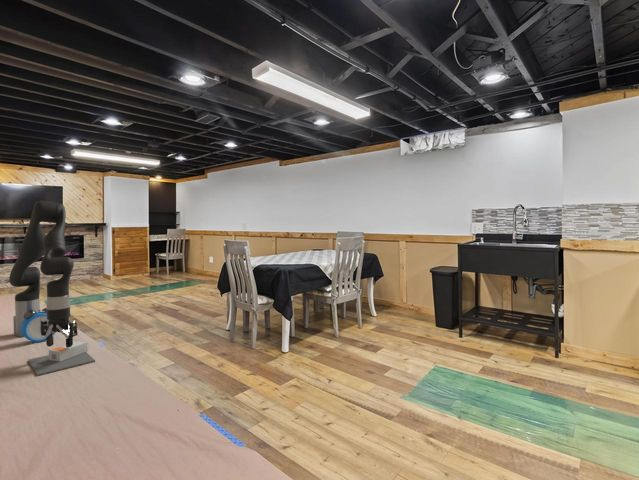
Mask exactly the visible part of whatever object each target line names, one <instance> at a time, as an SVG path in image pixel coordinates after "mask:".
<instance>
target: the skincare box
mask: <svg viewBox="0 0 639 480" xmlns="http://www.w3.org/2000/svg"><path fill="white" fill-rule="evenodd" d="M88 345H89V343H88V342H87V341H82V340H76V341H75V340H74V341H73V345H72V346H71V347H69V348H67V347H66V344H64V345H63V344H62V345H60V346H57V347H54V348H51V349H48V355H49V360H52V361H58V362H61V361H63V360H66V359H69V358H71V357H74V356H77V355H80V354H82V353H85V352H87V353H88V352H89V350H88V349H89V347H88Z"/></svg>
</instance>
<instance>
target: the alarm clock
mask: <svg viewBox="0 0 639 480" xmlns="http://www.w3.org/2000/svg"><path fill="white" fill-rule="evenodd" d="M38 311H40V312H36V311H34V310H29V311H27V312H26V313H25V314H24V315H23V318H24V320H23V321H22V323H21V325H20V332H21V334H22V335H23V336H24V338H25V339H27V340H28V341H30V342H31V344H34V343H41V342H45V341H46V337H45V336H44V335H43V336H42V335H41V322H42V321H44V320H48V319H47V307H44V308H43V309H42V310H41V309H40V310H38ZM49 327H50V326H49ZM45 330H46V329H45ZM56 333H57V332H54V334H53V335H52V336H53V337H54V336H55V334H56Z"/></svg>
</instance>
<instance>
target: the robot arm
mask: <svg viewBox="0 0 639 480" xmlns="http://www.w3.org/2000/svg"><path fill="white" fill-rule="evenodd" d="M42 222H43V223H48V224H49V223H50V224H55V226H54V227H53V228H52V229H50V231H48V232H47V233H45V231H44V230H43V228H42V226H41V224H40V223H42ZM65 229H66V207H65V205H64V204H63V203H59V202H55V201H47V200H37V201H36V202H35V203H34V206H33V208H32V211H31V215H30V219H29V224H28V227H27V231H26V233H25V236H24V237H23V240H22V244H21V247H20V250H19V253H18V256H17V259H16V261H15V263H14V264H13V266H12V268H11V271H10V274H9V284H10V285H11V286H12V287H13V288H14V287H17V288H19V287H20V288H21V287H22V288H23V287H27V288H26V289H25V290H23V291H21V292H18V293H16V294H15V295H14V311H15V315H14V316H12V317H13V318H12V319H13V320H12V321H13V336H14V337H20V338H21V337H22V338H23V337H24V336H23V335H22V334H21V332H20V325H21V323H22V321H23V320H24V318H23V315H24V314H25V313H26V312H27V311H29V310H34V311H36V312H41V311H38V310H41V309H40V308H41V307H40V293H41V288H40V287H41V273H42V274H43V275H45V276H59V275H60V276H61V275H62V276H61V277H60V278H59V279H54V280H52V281H48V282H47V284H46V308H47V312H46V313H47V319H48V320H44V321H42V322H41V335H42V336H43V335H44V336H45V337H46V340H45V341H46V346H47V347H49V348H50V347H52V346H54V345H55V344H54V335H55V334H54V332H56V333H60V334H61V335H64V337H65V345H66V347H67V348H69V347H71V346H72V345H73V342H74V337H76V336H78V335H79V334H78V333H79V332H78V323H77V321H76V320H73V321H70V317H71V298H70V279H71V277H72V276H71V275H72V273H73V269H74V266H75V265H74V263H75V262H74V260H73V258H71V257H70V256H65V255H66V254H67V249H66V248H67V247H66V241H65V232H66V230H65ZM40 259H41V261H40V266H39V267H40V269H39V268H38V266H31V265H32V264H34V263H36V262H37V261H39V260H40ZM49 326H50V327H49ZM45 329H46V330H45ZM53 334H54V335H53ZM52 335H53V336H52ZM24 338H25V337H24Z"/></svg>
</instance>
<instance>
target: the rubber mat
mask: <svg viewBox="0 0 639 480" xmlns="http://www.w3.org/2000/svg"><path fill="white" fill-rule="evenodd" d="M95 362H96V360H95V358H93V357H92V356H91V355H90V354H89V353H88V351H87V352H85V353H82V354H80V355H77V356H74V357H71V358H69V359H66V360H63V361H61V362H58V361H52V360H49V354H47V355H42V356H39V357H34V358H29V359H28V363H29V364H30V366H31V368H32V369H33V372H34V373H35V375H36V377H39V376H43V375H48V374H51V373H55V372H60V371H64V370H69V369H71V368H76V367H80V366H85V365H88V364H92V363H95Z"/></svg>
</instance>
